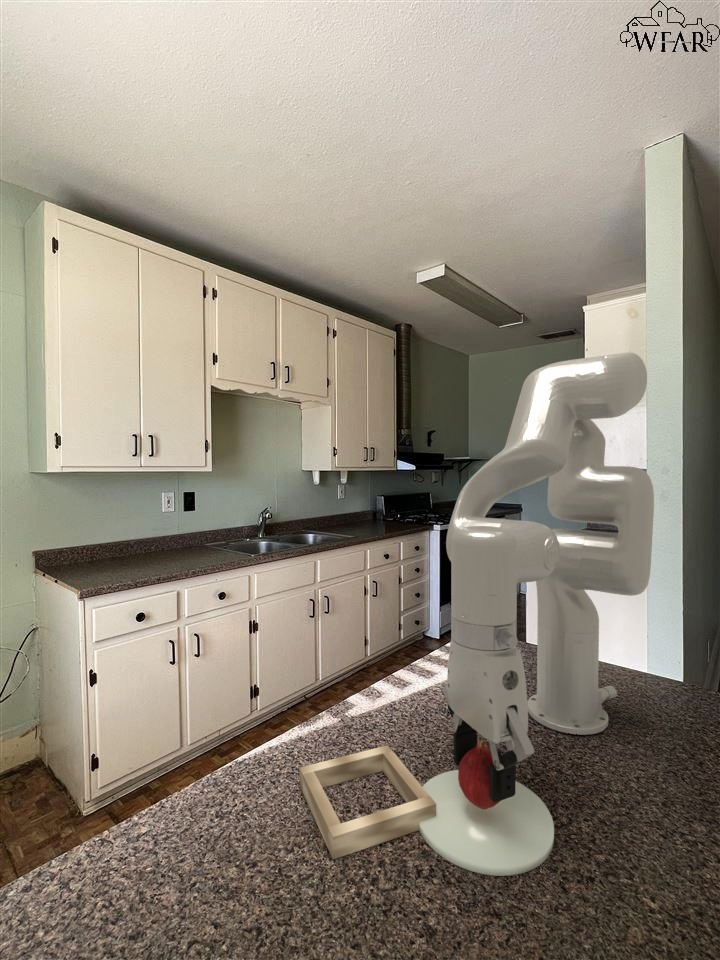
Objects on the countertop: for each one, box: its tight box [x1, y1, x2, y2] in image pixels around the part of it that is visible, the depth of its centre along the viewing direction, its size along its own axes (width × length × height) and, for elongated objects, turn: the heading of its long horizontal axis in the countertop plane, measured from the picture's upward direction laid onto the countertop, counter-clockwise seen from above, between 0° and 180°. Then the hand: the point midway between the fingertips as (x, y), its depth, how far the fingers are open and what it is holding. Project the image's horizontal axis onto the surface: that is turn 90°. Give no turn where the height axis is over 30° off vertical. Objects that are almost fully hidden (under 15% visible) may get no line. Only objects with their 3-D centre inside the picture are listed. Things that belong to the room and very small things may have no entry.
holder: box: [299, 744, 436, 860], centre depth 61 cm, size 13×13×2 cm
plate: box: [418, 769, 555, 877], centre depth 58 cm, size 16×16×1 cm
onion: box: [458, 738, 500, 809], centre depth 58 cm, size 6×6×8 cm
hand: (482, 777), depth 58 cm, fingers open, 6 cm apart
